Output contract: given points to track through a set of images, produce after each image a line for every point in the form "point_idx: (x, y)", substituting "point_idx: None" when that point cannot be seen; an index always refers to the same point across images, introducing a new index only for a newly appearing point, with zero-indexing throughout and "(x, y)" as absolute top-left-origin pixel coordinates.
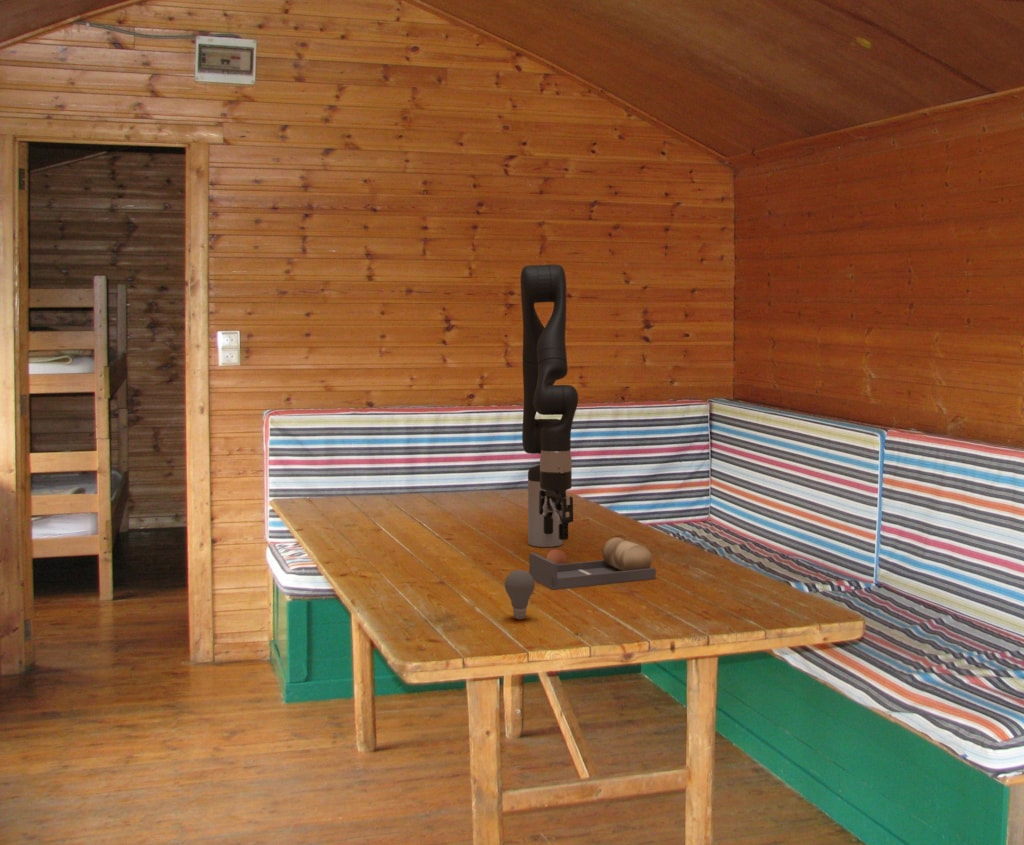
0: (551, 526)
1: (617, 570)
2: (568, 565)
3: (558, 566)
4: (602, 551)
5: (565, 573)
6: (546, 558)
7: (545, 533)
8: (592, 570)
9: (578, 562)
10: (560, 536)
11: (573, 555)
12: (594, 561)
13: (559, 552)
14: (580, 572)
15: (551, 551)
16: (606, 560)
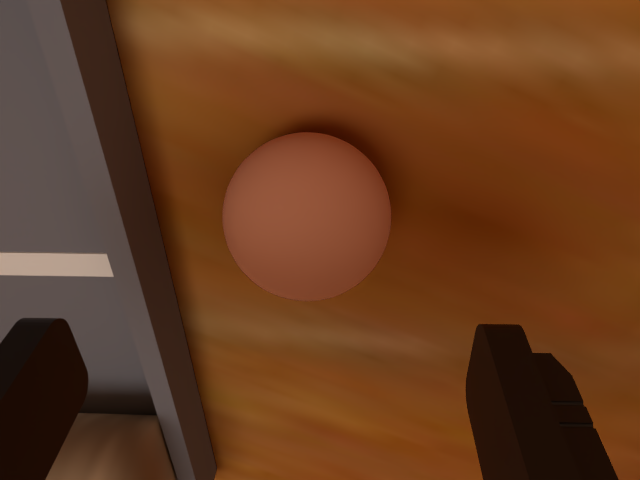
0: (486, 458)
1: (83, 406)
2: (101, 215)
3: (77, 135)
4: (131, 466)
5: (36, 143)
6: (330, 147)
7: (480, 327)
8: (104, 317)
9: (143, 298)
10: (7, 347)
11: (612, 401)
12: (150, 379)
13: (247, 259)
14: (58, 241)
15: (296, 214)
16: (114, 425)
